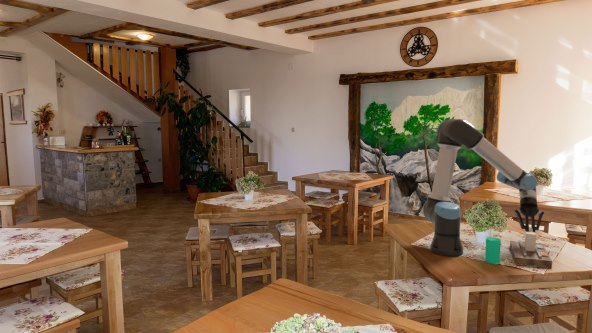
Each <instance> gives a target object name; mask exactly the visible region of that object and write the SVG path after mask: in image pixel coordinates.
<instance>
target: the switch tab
mask: <svg viewBox="0 0 592 333" xmlns="http://www.w3.org/2000/svg"><path fill="white" fill-rule="evenodd" d="M536 240H537V233H536V231H535V232H526V231H524V242H525V246H524V249H525V251H533V252H535V248H536V243H537V241H536Z"/></svg>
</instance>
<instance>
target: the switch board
mask: <svg viewBox="0 0 592 333" xmlns="http://www.w3.org/2000/svg"><path fill="white" fill-rule="evenodd" d="M524 246H525V241H522V240H518V241H517V240H510V241H509V248H510V251H511V254H512V258H513V262H514V264H515V265H521V266H522V265H523V266H530V265H531V266H530V267H532V266H533V267H541V268H548V269H549V268H550V269H552V268H553V259H552V258H551V256H550V254H549V253H548V251H547V250H546V248H545V246H544V244H543V243H541V242H540V243H539V242H536V248H535V252H533V251H525V249H524Z"/></svg>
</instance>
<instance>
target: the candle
mask: <svg viewBox="0 0 592 333" xmlns="http://www.w3.org/2000/svg"><path fill="white" fill-rule="evenodd" d="M501 241H502V239H500V238H499V237H494V235H493V236H491V237H490V236H486V237H485V254H484V256H485V258H484V259H485V262H486V263H488V264H493V265H494V264H495V265H497V264H500V262H501V246H502V245H501V244H502V243H501Z"/></svg>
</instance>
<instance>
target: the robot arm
mask: <svg viewBox="0 0 592 333" xmlns="http://www.w3.org/2000/svg"><path fill="white" fill-rule="evenodd" d="M436 136H437V145H438V147H439V151H438V155H437V156H438V157H437V161H436V166H435V167H436V168H435V172H434V178H433V184H432V189H431V193H430V194H428V195H427V198H426V199H427V200H426V201H425V202H424V203H423V205H422V215H423V216H424V218H425V219H426V220H427V221H428V222H429V223H432V224H433V225H434V226H433V227H434V230H433V231H434V235H433V237H432V240H431V243H430V246H429V249H430V252H431V253H433V254H436V255H440V256H448V257H456V256H461V255H463V254H464V247H463V244H462V238H461V216H462V213H461V206H460V205H459V204H457V203H454V202H452V199H451V197H450V193H451V186H452V181H453V175H454V173H455V172H454V171H455V165H456V160H457V155H458V151H459V150H461V149H462V147H463V146H464V147H465V148H466V149H468V150H472V151H474V152H475V153H476V154H477V155H478V156H480V157H481V158H482V159H484V160H485V161H486V162H488V164H489V165H491V166H492V167H493V168H495V169H496V170H497V171H498V172H497V174H496V180H497V181H498V182H499V183H501V184H504V185H507V186H509V187H511V188H514V189H517V190H518V191H519V192H518V193H519V208H518V209H515V210H514V215H515V216H516V218H517V220H518V223H519V226H520V229H522V230H524V232H535V233H536V231H537V232H538V231H539V229H540V226H541V221H542V219H543V217H544V216H545V211H540V209H539V208H538V207H539V206H538V200H537V199H538V198H537V196H538V195H537V185H538V179H537V178H536V175H534V174H533V173H530V172H528V173H527V172H526V171H525V170H523V169H522V167H520V166H519V165H518V164H516V163H515V162H514V161H513V160H512V159H511V158H509V157H508V156H507V155H506V154H504V153H503V152H502V151H501V150H500V149H499V148H497V147H496V146H495V145H493V143H491V141H489V140H488V139H487V138H485V134H484V133H483V132H482V131H480V130H479V129H478V128H477V127H476V126H474V125H473V124H472V123H470V122H469V121H468V120H465V119H461V118H455V119H454V118H449V119H445V120H443V121H442V122H440V123H439V124H438V126H437V129H436ZM521 214H522V215H523V217H524V220H523V217H522V215H521ZM537 214H538V219H537V223H535V217H536V216H537ZM529 218H530V220H529ZM529 221H530V222H529ZM530 225H531V226H530Z"/></svg>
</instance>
